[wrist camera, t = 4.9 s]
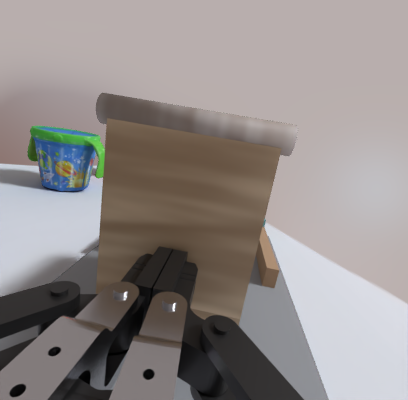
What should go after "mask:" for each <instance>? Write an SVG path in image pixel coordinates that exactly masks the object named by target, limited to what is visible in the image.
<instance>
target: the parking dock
mask: <svg viewBox="0 0 408 400" xmlns="http://www.w3.org/2000/svg"><path fill="white" fill-rule="evenodd" d="M265 221H266V220H265V219H264V223H263V227H262V231H261V235H260V239H259V244H258V248H257V252H256V256H255V260H254V264H253V268H252V272H251V277H250V281H249V285H248V289H247V293H246V297H245V301H244V305H243V310H242V314H241V318H240V322H239V327H240V328H241V329H242V330H243V331H244V332H245V334H246V335H247V336H248V337H249V338H250V339H251V340H252V341H253V343H254V344H255V345H256V346H257V347H258V348H259V349H260V350H261V352H262V353H263V354H264V355H265V356H266V357H267V358H268V359H269V361H270V362H271V363H272V364H273V365H274V366H275V367H276V368H277V370H278V371H279V372H280V373H281V374H282V375H283V376H284V377H285V379H286V380H287V381H288V382H289V383H290V384H291V385H292V386H293V388H294V389H295V390H296V391H297V392H298V393H299V394H300V395H301V397H302V398H303V399H304V400H329V399H328V396H327V394H326V391H325V388H324V386H323V383H322V380H321V377H320V375H319V372H318V369H317V366H316V364H315V361H314V358H313V356H312V353H311V350H310V347H309V345H308V342H307V339H306V337H305V334H304V331H303V328H302V326H301V323H300V320H299V317H298V315H297V312H296V309H295V307H294V304H293V301H292V298H291V296H290V293H289V290H288V288H287V285H286V282H285V279H284V277H283V274H282V271H281V268H280V266H279V263H278V260H277V258H276V255H275V252H274V249H273V247H272V244H271V241H270V239H269V236H267V234H266V231H265V228H264V225H265ZM98 251H99V245H98V246H97V247H95V248H94V249H93V250H92V251H90V252H89V253H88V254H87V255H85V256H84V257H83V258H82V259H80V260H79V261H78V262H77V263H76V264H74V265H73V266H72V267H71V268H69V269H68V270H67V271H66V272H64V273H63V274H62V275H61V276H59V277H58V278H57V279H56V280H54V281H53V282H57V281H71V282H74V283H76V284H78V285H79V287H80V294H96V282H97V266H98ZM53 282H52V283H53ZM35 337H37V326H34V327H32V328H29V329H26V330H23V331H21V332H18V333H15V334H13V335H10V336H7V337H4V338H2V339H0V351H2V350H4V349H7V348H9V347H12V346H14V345H17V344H19V343H22V342H25V341H27V340H30V339H32V338H35ZM116 381H117V380H116ZM116 381H115V383H116ZM115 383H114V385H113V387H112V388H111V390H113V388H114V386H115ZM173 400H194V399H193V397H192V395H191V391H190V385H189V384H188V383H186V382H184V381H183V380H181V379H180V378H178V377H177V379H176V386H175V392H174V399H173Z"/></svg>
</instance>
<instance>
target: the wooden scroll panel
mask: <svg viewBox="0 0 408 400" xmlns="http://www.w3.org/2000/svg"><path fill="white" fill-rule="evenodd" d="M96 114H97V118H98V120H99V122H100V123H103V124H107V126H106V127H107V128H106V142H105V157H104V173H103V189H102V204H101V220H100V235H99V251H98V266H97V282H96V294H99V293H100V292H101V291H102V290H103V289H104V288H105V287H106V286H108V285H109V284H112V283H115V282H120V281H121V280H122V279H123V277H124V276H125V275H126V274H127V272H128V271H129V270H130V268H131V267H132V266H133V265H134V264H135V262H136V261H137V259H138V258H139V257H141V256H143V255H145V254H147V253H148V254H152V255H153V254H154V253H155V251H156V250H157V248H158V247H159V246H161V247H166V248H171V249H173V250H174V249H176V250H181V251H185V252H188V255H187V262H191V263H195V264H196V266H197V268H198V273H197V278H196V284H195V290H194V295H193V299H192V303H191V307H190V308H191V310H192V311H193V312H194V313H195V314H196V315H197V316H199V317H200V318H202V319H204V320H205V319H206V318H207V317H209V316H212V315H222V316H225V317H228V318H230V319H232V320H233V321H234V322H235V323H237V325H238V326H239V322H240V318H241V314H242V310H243V305H244V301H245V297H246V293H247V289H248V285H249V281H250V277H251V272H252V268H253V264H254V260H255V256H256V252H257V248H258V244H259V239H260V235H261V231H262V227H263V223H264V219H265V215H266V210H267V206H268V202H269V198H270V194H271V190H272V186H273V181H274V177H275V173H276V169H277V165H278V161H279V157H280V155H284V156H290V155H291V153H292V151H293V149H294V146H295V143H296V138H297V131H298V127H297V125H293V124H287V123H280V122H274V121H268V120H263V119H257V118H251V117H245V116H239V115H233V114H227V113H221V112H215V111H208V110H203V109H197V108H191V107H185V106H179V105H173V104H167V103H161V102H155V101H149V100H143V99H137V98H131V97H125V96H119V95H113V94H107V93H101V94H100V95H99V97H98V99H97V103H96Z"/></svg>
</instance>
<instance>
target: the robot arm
mask: <svg viewBox="0 0 408 400" xmlns="http://www.w3.org/2000/svg"><path fill="white" fill-rule="evenodd" d="M187 255H188V252H185V251H181V250H176V249H174V250H173V249H171V248H166V247H161V246H159V247H158V248H157V250H156V251H155V253H154V254H153V255H152V254H148V253H147V254H145V255H143V256H141V257H139V258H138V259H137V261H136V262H135V264H134V265H133V266H132V267H131V268H130V270H129V271H128V272H127V274H126V275H125V276H124V277H123V279H122V280H121V281H120V282H115V283H112V284H109V285H108V286H106V287H105V288H104V289H103V290H102V291H101V292H100V293H99V294H80V287H79V285H78V284H76V283H74V282H71V281H57V282H53V283H49V284H46V285H42V286H38V287H35V288H31V289H28V290H24V291H20V292H17V293H13V294H9V295H6V296H2V297H0V339H2V338H4V337H7V336H10V335H13V334H15V333H18V332H21V331H23V330H26V329H29V328H32V327H34V326H37V337H35V338H32V339H30V340H27V341H25V342H22V343H19V344H17V345H14V346H12V347H9V348H7V349H4V350H2V351H0V400H173V399H174V392H175V386H176V379H177V377H178V378H180V379H181V380H183V381H184V382H186V383H188V384H189V385H190V391H191V395H192V397H193V399H194V400H304V399H303V398H302V397H301V395H300V394H299V393H298V392H297V391H296V390H295V389H294V388H293V386H292V385H291V384H290V383H289V382H288V381H287V380H286V379H285V377H284V376H283V375H282V374H281V373H280V372H279V371H278V370H277V368H276V367H275V366H274V365H273V364H272V363H271V362H270V361H269V359H268V358H267V357H266V356H265V355H264V354H263V353H262V352H261V350H260V349H259V348H258V347H257V346H256V345H255V344H254V343H253V341H252V340H251V339H250V338H249V337H248V336H247V335H246V334H245V332H244V331H243V330H242V329H241V328H240V327H239V326H238V325H237V323H235V322H234V321H233V320H232V319H230V318H228V317H225V316H222V315H212V316H209V317H207V318H206V319H205V320H204V319H202V318H200V317H199V316H197V315H196V314H195V313H194V312H193V311H192V310H191V308H190V307H191V303H192V299H193V295H194V290H195V284H196V278H197V273H198V268H197V266H196V264H195V263H191V262H187ZM116 380H117V381H116ZM115 381H116V383H115ZM114 383H115V386H114V388H113V390H111V388H112V387H113V385H114Z"/></svg>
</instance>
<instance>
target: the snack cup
mask: <svg viewBox="0 0 408 400" xmlns="http://www.w3.org/2000/svg"><path fill="white" fill-rule="evenodd" d="M30 132H31V135H32V136H31V139H30V144H29V147H28V157H29V159H30V160H31V161H38V165H39V171H40V176H41V182H42V185H43V186H44V187H47V188H50V189H57V190H59V191H81V190H84V189H85V188H87V187H88V184H89V182H90V176H91V173H92V168H93V162H94V159H95V155H96V154H97V156H98V158H99V161H98V166H97V170H96V174H95V176H96V177H97V178H102V177H103V173H104V157H105V149H104V147H103V145H102V143H101V142H100V136H98V135H96V134H92V133H87V132H81V131H77V130H70V129H63V128H56V127H45V126H32V128H31V130H30Z"/></svg>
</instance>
